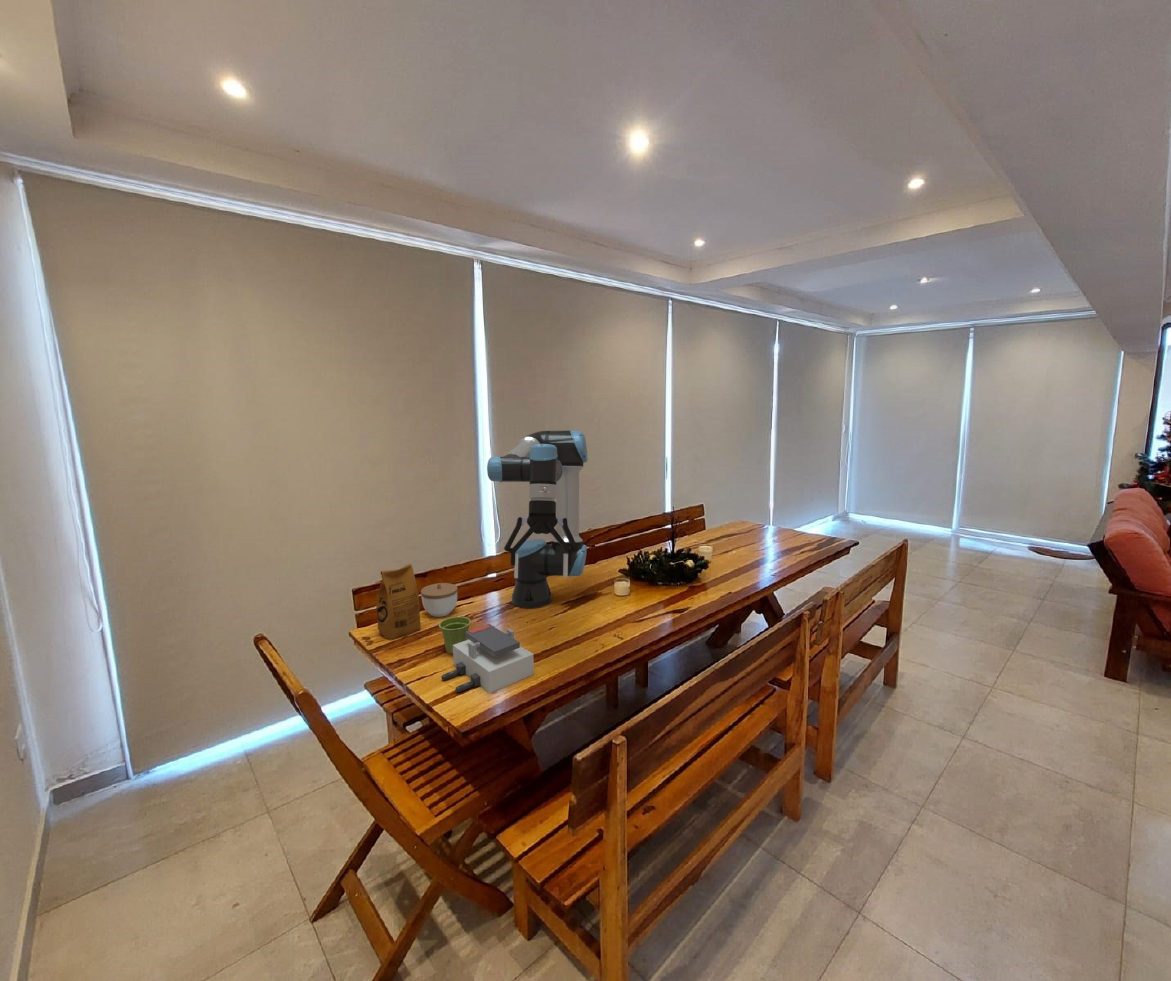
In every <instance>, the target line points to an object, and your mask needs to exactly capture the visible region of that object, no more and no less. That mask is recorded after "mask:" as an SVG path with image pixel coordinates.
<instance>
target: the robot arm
mask: <svg viewBox="0 0 1171 981" xmlns="http://www.w3.org/2000/svg"><path fill="white" fill-rule="evenodd" d="M588 460H589V459H588V447H587V441H586V437H585V434H584V432H583V431H580V430H570V429H569V430H540V431H535V432H532V433H529V434H528V435H525V436H523V437H522V438H521V439H519V440H518V441H517V444H516V445H515V447H514V448H512V449H511V450H510V451H509V452H508V453H506V454H505V455H503V456H500V455H497V456H490V458H489V459H488V460H487V465H486V469H487V470H486V471H487V477H488V479H489V480H490V481H491V482H499V483H505V482H506V483H509V482H510V483H511V482H513V483H514V482H518V483H522V482H523V483H529V488H528V489H529V490H528V498H529V499H530V500H529V501H528V517H527V518H525V517H521V516H519V517H517V518H516V524H515V526H514V528H513V530H512V532H511V534H510V536H509V538H508V540H507V541H506V544H505V545H504V548H503V550H504V551H506V552H508V553H509V554H510V559H509V560H510V561H509V563H510V566H514V567H513V568H514V570H513V572H514V573H513V577H514V579H515V584H514V588H513V591H512V595H511V603H512V604H513V606H516V607H518V608H522V609H523V608H524V609H536V608H537V609H539V608H541V607H545V606H547V605H549V604H551V603H552V598H553V597H552V592H551V589H550V586H549V584H548V580H547V579H548V578H547V577H548V576H550V577H551V576H552V577H561V576H562V577H563V579H568V577H569V578H570V577H579V576H582V574H583V573H584V569H585V565H586V559H587V552H588V550H587V549H588V546H587V545H585V544H584V540H583V539H582V538H581V536H580V472H581V470H582V469H583V468H584V463H587V462H588ZM526 523H527V525H528V527H529V528H528V529H527V530H526V532H525V533H524V534H523V536H522V537H521V538H520V539H519V540H518V541H517V542H516V543H515V545H513V544H514V541H515V539H516V537H517V535H518V533H519V531H520V529H521V527H522V526H524V525H525V524H526ZM533 533H534V534H535V535H541V534H544V535H549V534H551V535H552V536H553V538H552V539H551V544H550V543H549V544H547V541H546V539H541V538H536V539H535V538H533V539H529V538H530V537H531V536H532V534H533ZM512 545H513V547H512Z"/></svg>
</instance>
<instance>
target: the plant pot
mask: <svg viewBox="0 0 1171 981" xmlns="http://www.w3.org/2000/svg"><path fill="white" fill-rule="evenodd" d="M471 622H472V621H471V619H470V618H469V617H466V616H453V617H451V616H450V617H448V618H445V619H443V620H441V621H440V622H439V623H438V627H439V629H440V631H441V632H442V633H441V634H442V638H443V642H444V646H445V651H446V652H447V653H449V654H453V645H454V644H457V643H460V642H463V641H466V640H468V639H467V638H466V637H465V632H466V631H469V629H470V625H471V624H472V623H471Z"/></svg>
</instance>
